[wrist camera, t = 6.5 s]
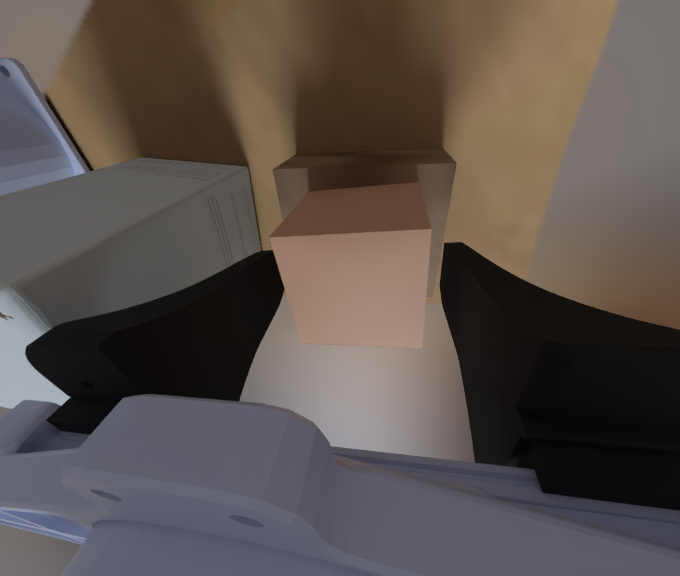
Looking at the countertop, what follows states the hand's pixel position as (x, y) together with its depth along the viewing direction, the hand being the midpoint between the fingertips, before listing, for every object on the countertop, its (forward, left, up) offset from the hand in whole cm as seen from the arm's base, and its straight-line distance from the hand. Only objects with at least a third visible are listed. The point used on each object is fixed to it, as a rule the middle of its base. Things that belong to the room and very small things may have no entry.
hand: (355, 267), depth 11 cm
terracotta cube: (0, 0, -3) cm, 3 cm away
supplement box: (-11, 0, -7) cm, 13 cm away
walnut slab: (0, 0, -7) cm, 7 cm away
